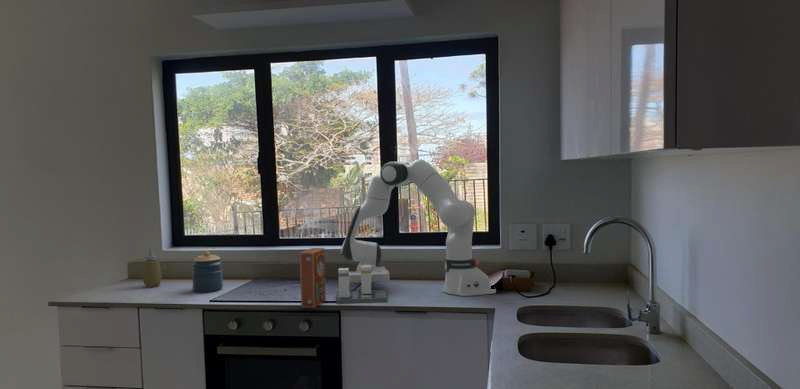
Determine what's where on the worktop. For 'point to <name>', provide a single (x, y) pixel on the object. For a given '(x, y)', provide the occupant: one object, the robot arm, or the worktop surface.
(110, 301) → the worktop surface
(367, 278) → the breaker toggle
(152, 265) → the squeeze bottle
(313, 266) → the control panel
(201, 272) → the canister
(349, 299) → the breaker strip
